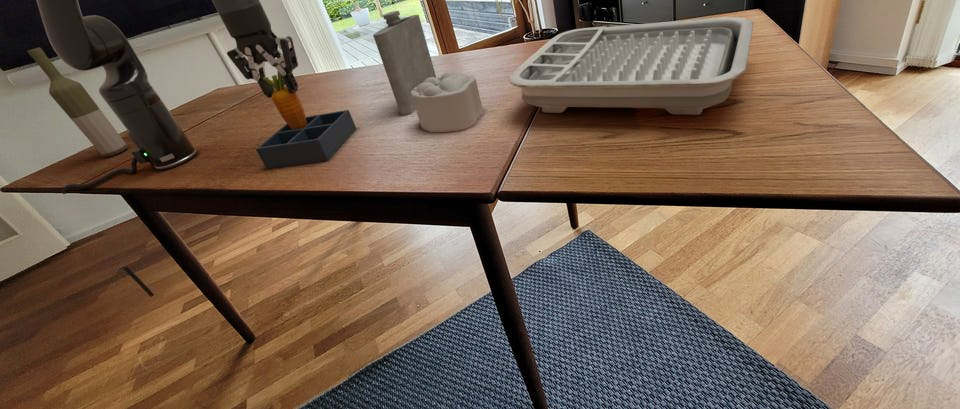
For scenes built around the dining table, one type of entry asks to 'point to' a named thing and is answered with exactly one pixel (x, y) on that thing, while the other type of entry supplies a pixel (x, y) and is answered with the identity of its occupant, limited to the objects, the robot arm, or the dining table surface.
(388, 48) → the hip flask
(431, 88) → the lumpy-topped squat cylinder
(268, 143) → the four-compartment tray
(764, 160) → the dining table surface
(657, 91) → the dish rack
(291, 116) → the carrot
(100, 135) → the bottle
